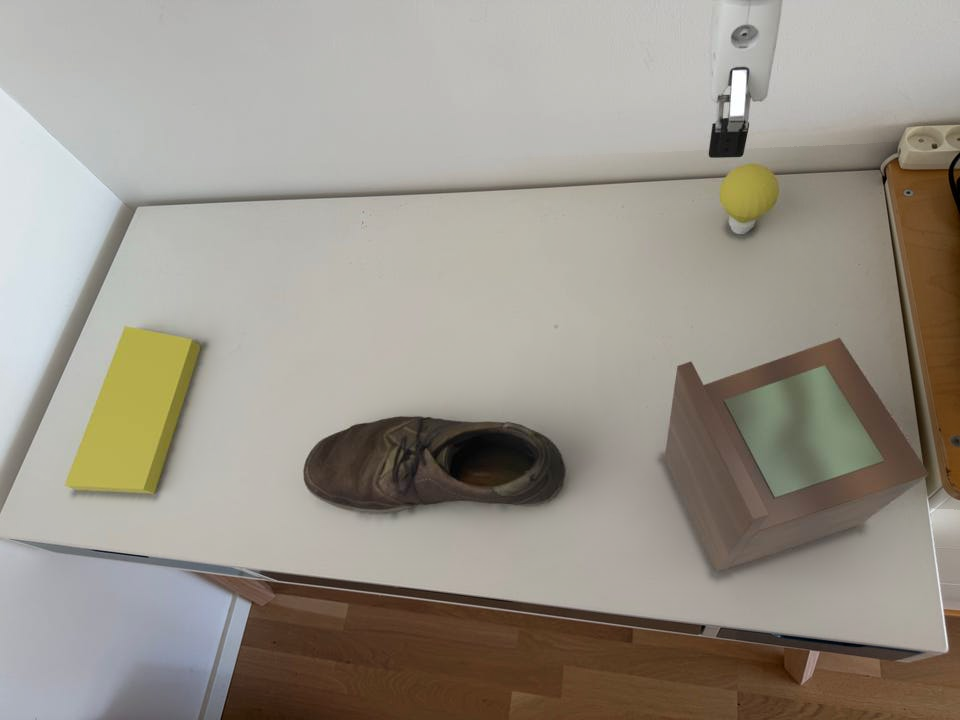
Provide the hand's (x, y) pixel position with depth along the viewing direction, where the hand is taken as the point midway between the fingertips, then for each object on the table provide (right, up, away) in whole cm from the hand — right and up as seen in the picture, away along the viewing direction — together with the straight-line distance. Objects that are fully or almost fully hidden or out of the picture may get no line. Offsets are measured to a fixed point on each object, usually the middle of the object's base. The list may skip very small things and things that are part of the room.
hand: (725, 118), depth 66 cm
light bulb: (+9, -7, +19) cm, 22 cm away
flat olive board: (-72, -31, +25) cm, 83 cm away
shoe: (-30, -38, +12) cm, 50 cm away
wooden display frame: (+5, -38, +4) cm, 39 cm away
